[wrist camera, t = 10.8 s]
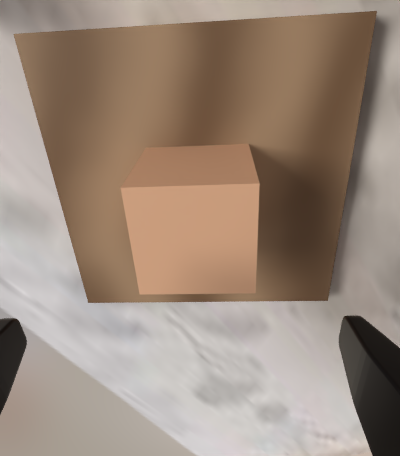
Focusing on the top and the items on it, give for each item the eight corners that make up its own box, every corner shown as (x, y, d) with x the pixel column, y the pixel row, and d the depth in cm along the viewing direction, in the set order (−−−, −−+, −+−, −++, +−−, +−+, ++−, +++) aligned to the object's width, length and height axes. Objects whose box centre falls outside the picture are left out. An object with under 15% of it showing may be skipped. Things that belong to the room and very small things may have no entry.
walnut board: (367, 12, 14) (376, 11, 14) (323, 290, 22) (327, 300, 21) (25, 34, 15) (13, 34, 15) (93, 292, 23) (88, 302, 22)
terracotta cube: (248, 143, 16) (259, 183, 12) (247, 233, 19) (255, 293, 15) (145, 147, 17) (120, 187, 12) (157, 235, 19) (139, 294, 15)
